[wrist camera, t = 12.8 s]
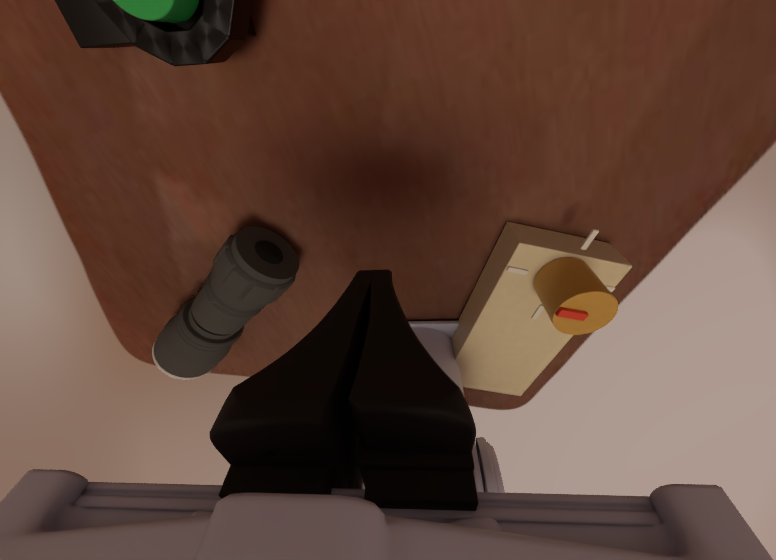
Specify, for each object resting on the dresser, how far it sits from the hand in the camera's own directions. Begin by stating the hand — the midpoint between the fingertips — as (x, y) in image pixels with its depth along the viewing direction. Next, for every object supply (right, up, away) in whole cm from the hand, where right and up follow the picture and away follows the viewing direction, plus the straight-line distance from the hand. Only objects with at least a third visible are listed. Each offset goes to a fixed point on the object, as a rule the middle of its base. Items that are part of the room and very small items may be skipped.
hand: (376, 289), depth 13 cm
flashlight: (-13, 0, +14) cm, 19 cm away
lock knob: (+12, 0, +8) cm, 15 cm away
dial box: (+11, -2, +14) cm, 18 cm away
